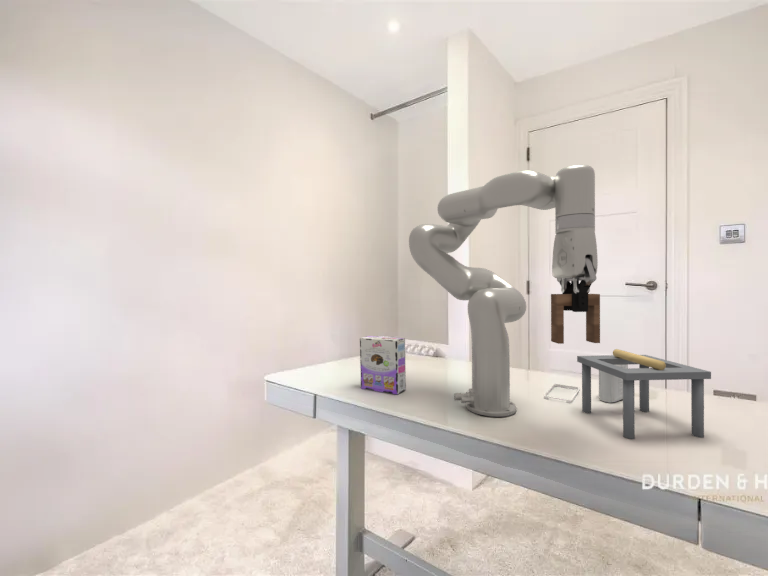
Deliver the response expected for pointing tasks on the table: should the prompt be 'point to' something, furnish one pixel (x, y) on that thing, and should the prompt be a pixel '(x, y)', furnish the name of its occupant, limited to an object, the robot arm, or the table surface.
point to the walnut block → (591, 317)
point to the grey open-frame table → (644, 384)
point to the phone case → (562, 387)
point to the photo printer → (610, 386)
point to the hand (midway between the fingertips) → (574, 310)
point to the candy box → (383, 364)
